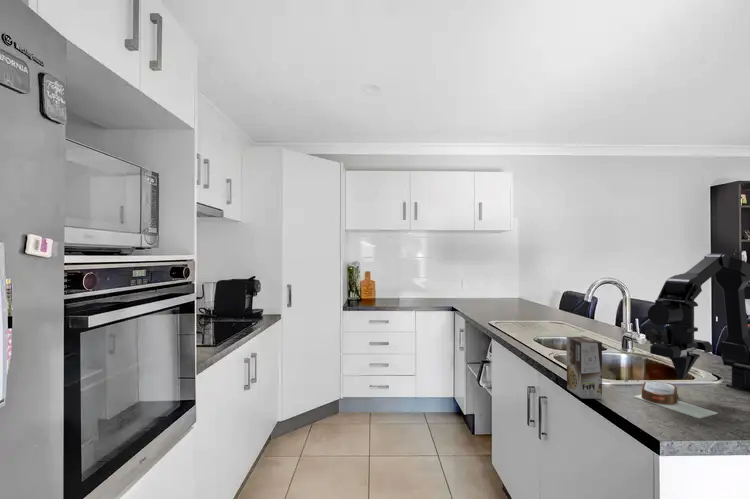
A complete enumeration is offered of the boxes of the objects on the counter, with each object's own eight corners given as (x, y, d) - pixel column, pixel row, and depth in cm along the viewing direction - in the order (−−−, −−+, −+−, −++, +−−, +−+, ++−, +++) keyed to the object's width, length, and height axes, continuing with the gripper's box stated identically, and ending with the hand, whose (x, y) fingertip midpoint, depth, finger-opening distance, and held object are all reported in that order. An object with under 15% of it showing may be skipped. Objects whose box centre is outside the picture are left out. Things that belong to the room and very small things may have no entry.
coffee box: (603, 398, 120) (603, 342, 120) (580, 399, 119) (580, 342, 120) (586, 388, 129) (586, 335, 129) (565, 388, 129) (565, 335, 129)
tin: (677, 392, 125) (644, 388, 130) (676, 381, 125) (643, 378, 130) (677, 406, 112) (640, 402, 117) (676, 395, 113) (639, 391, 118)
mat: (651, 393, 124) (651, 392, 124) (717, 413, 109) (717, 412, 109) (633, 397, 121) (633, 396, 121) (699, 418, 105) (699, 417, 105)
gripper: (672, 316, 128) (672, 367, 128) (631, 320, 121) (631, 374, 121) (713, 322, 118) (713, 377, 118) (672, 327, 111) (672, 386, 111)
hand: (681, 378), depth 117 cm, fingers closed
